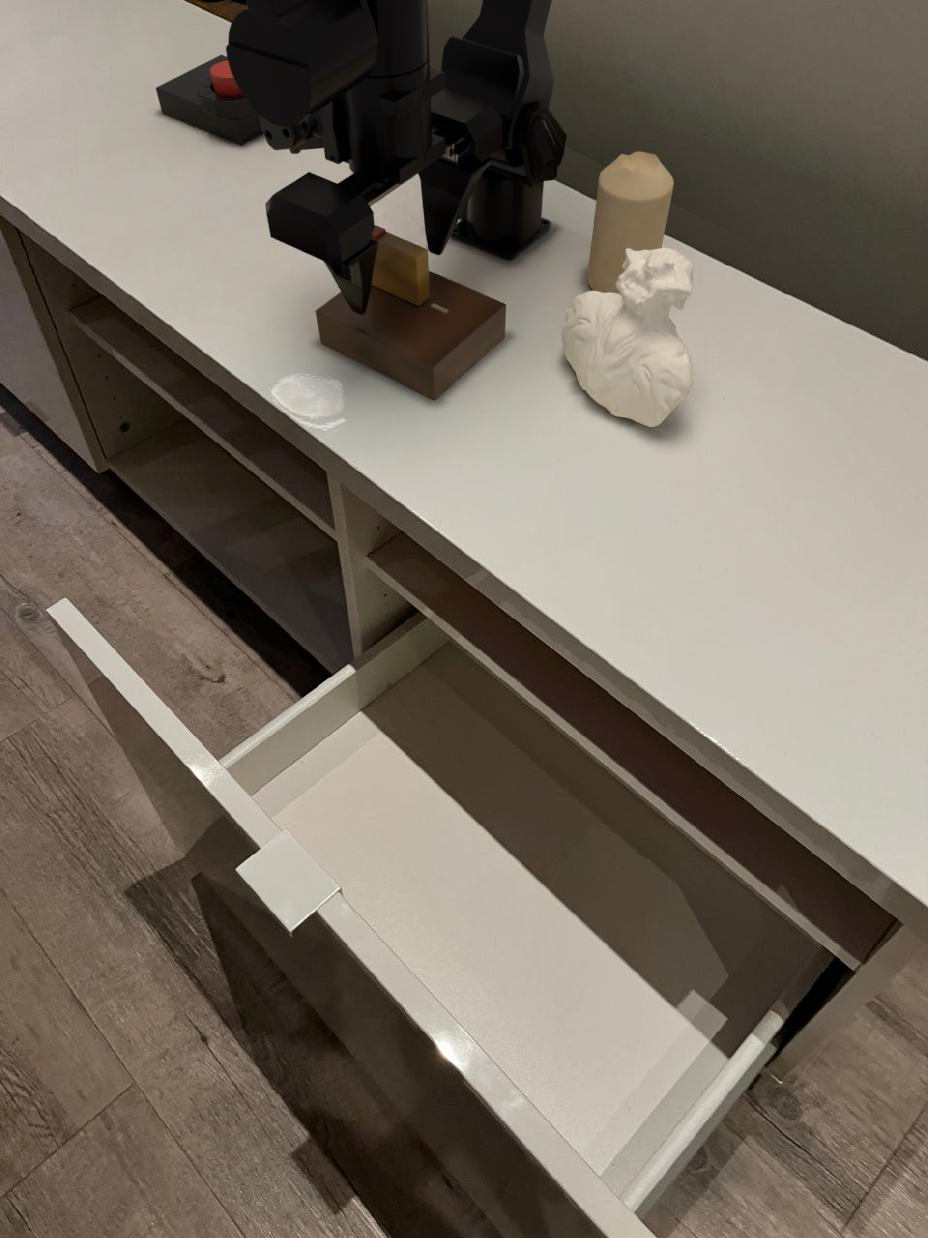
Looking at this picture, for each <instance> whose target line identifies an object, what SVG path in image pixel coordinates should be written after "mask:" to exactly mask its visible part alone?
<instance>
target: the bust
mask: <svg viewBox="0 0 928 1238" xmlns="http://www.w3.org/2000/svg"><path fill="white" fill-rule="evenodd" d="M625 254H626V260H625V262H624V263H623V266H622V267H623V269H626V270H625V272H624V273H622V274H621V275H620V276H619V278H618V280H617V282H616V287H617V289H618V290H619V293H620V294H621V295H622V296H621V295H620V294H617V293H611V292H610V293H609V292H608V293H602V292H598V291H593V290H588V291H585V292H583V293H580V294H579V295H576V296H575V297H574V298H573V300H572V302H571V306H570V307H569V308H568V309H567V311H566V314H565V323H564V324H563V326H562V329H561V341H562V344H563V352H564V357H565V358H566V359H567V361H568V362H569V364H570V366H571V368H572V369H573V370H574V372H575V373H576V379H577V382H578V384H579V386H580V388H581V389H582V390H583V391H585V392H586V393H587V394H588V396H589V397H590V398H591V399H593V401H595V402H596V404H598V405H600V406H602V407H604V408H605V409H606V410H608V412H609V413H610V414H611V415H612V416H614V417H619V418H625V419H630V420H633V421H634V422H636V423H638V424H641V425H643V426H646V427H649V428H655V427H658V426H659V425H661V423H662V422H663V421H665V419H666V418H667V417H668V415H670V414H671V413H672V411H673V410H674V409H675V408H676V407H677V406H678V404H679V403H681V402H682V401H683V400H685V399H686V398H687V397H688V395H689V394H690V392H691V390H692V387H693V385H694V384H695V382H696V379H697V378H696V372H695V371H694V369H693V363H692V355H691V353H690V351H689V349H688V348H687V346H686V344H685V342H684V341H683V339H682V338H681V337H679V334H678V332H677V326H676V324H675V323H674V322H673V321H672V319H671V318H670V317H669V316H670V309H671V307H672V306H674V307H675V308H676V309H678V310H679V311H683V309H684V308H685V304H686V301H687V300H688V297H689V296H691V295H692V293H693V282H694V264H693V263H692V262H691V261H690V260H689V259H688V258H686V256H685V255H684V254H681V252H680V249H678V250H676V249H675V248H670V247H662V248H660V249H654V250H641V251H634V250H632V249H630V248H627V249H626V250H625Z"/></svg>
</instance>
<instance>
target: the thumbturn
mask: <svg viewBox="0 0 928 1238" xmlns="http://www.w3.org/2000/svg"><path fill="white" fill-rule="evenodd" d="M371 239H373V240H376V241H378V248H377V254H376V261H375V266H374V273H373V279H372V285H373V286H375V287H378V288H380V289H382V290H384V291H386V292H388V293H391V294H393V295H395V296H397V297H399V298H402V299H404V300H406V301H408V302H410V303H413V304H415V305H417V306H420V305H421V304H422V303H424V302H425V301H426V300H427V299H429V298H430V288H429V271H430V265H429V263H430V261H429V260H430V259H429V250H428V248H425V247H424V246H421V245H418V244H416V243H414V242H412V241H410V240H407V239H404V238H403V237H400V236H398V235H396V234H393V233H390V232H388V231H386V229H385V228H384V227H381V226H379V225H376V224H375V228H374V231H373V233H372V236H371Z"/></svg>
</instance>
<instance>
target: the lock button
mask: <svg viewBox="0 0 928 1238" xmlns="http://www.w3.org/2000/svg"><path fill="white" fill-rule="evenodd" d="M210 74H211V79H212V83H213V88H214V92H215V93H217V94H220V95H228V96H233V95H238V94H242V93H241V91H240V90H239V88H238V86H237V84H236V82H235V80H234V77H233V75H232V73H231V69H230V66H229V63H228V61H223V62H219V63H217V64H215V65H213V66H212V67H211V69H210Z"/></svg>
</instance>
